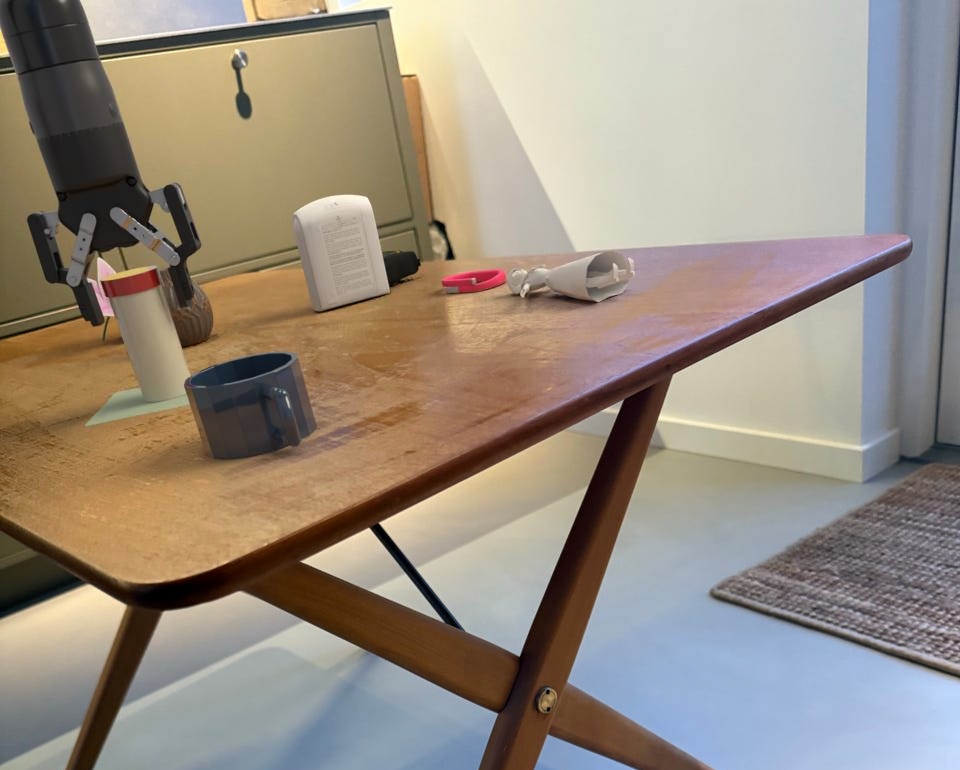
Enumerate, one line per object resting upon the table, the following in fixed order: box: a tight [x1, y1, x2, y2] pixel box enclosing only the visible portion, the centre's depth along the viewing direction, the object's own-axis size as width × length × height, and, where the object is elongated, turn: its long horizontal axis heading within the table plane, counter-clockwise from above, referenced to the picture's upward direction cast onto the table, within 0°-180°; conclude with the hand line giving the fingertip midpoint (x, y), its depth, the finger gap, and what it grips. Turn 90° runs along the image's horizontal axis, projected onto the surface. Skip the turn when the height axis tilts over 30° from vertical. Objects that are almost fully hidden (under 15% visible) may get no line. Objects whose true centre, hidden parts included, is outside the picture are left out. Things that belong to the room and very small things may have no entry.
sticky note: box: [83, 386, 190, 428], centre depth 101 cm, size 14×12×1 cm
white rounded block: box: [292, 194, 391, 312], centre depth 126 cm, size 10×4×12 cm, turn 116°
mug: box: [184, 350, 318, 460], centre depth 79 cm, size 12×9×6 cm
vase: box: [159, 266, 214, 348], centre depth 123 cm, size 7×7×9 cm
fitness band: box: [441, 268, 507, 294], centre depth 122 cm, size 8×6×2 cm
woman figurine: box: [506, 249, 636, 303], centre depth 108 cm, size 12×4×18 cm
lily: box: [87, 257, 117, 342], centre depth 136 cm, size 12×12×10 cm
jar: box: [100, 265, 192, 402], centre depth 98 cm, size 5×5×12 cm
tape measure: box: [382, 249, 422, 286], centre depth 135 cm, size 7×7×4 cm
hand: (142, 315), depth 97 cm, fingers open, 8 cm apart
